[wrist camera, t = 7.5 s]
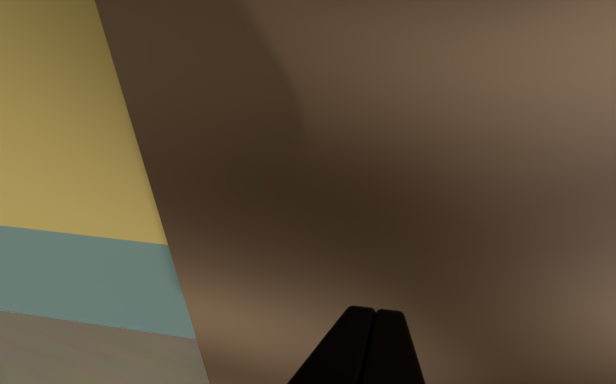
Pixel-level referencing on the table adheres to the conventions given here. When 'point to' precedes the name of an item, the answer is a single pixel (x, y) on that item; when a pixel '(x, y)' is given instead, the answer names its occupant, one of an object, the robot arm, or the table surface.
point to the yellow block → (67, 128)
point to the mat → (92, 281)
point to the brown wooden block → (383, 176)
